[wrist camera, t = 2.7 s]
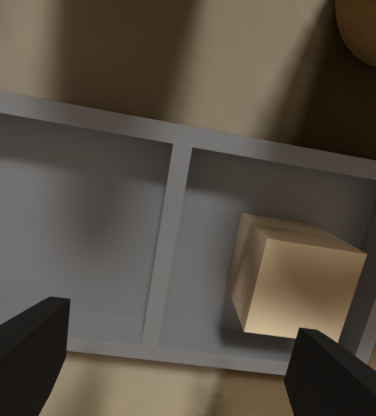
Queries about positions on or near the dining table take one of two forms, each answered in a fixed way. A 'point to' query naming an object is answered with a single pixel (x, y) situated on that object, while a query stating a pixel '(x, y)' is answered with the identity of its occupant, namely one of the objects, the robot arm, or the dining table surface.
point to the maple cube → (291, 277)
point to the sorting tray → (163, 229)
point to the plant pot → (358, 28)
